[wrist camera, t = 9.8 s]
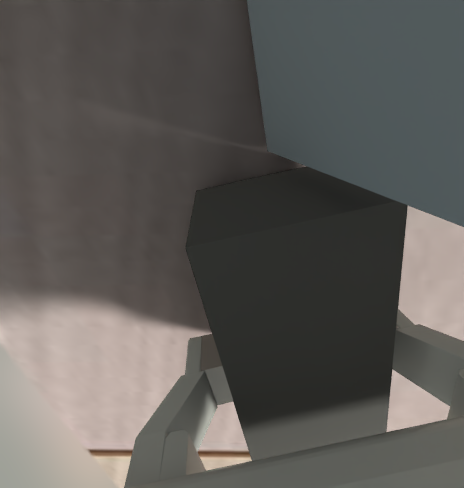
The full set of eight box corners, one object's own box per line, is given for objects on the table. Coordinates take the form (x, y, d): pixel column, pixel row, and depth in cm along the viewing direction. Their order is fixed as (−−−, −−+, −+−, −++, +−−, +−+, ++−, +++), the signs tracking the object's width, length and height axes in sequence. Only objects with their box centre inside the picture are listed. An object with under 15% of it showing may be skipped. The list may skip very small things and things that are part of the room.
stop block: (323, 325, 13) (386, 432, 8) (236, 344, 13) (252, 461, 8) (313, 165, 10) (408, 198, 5) (196, 191, 10) (185, 248, 5)
